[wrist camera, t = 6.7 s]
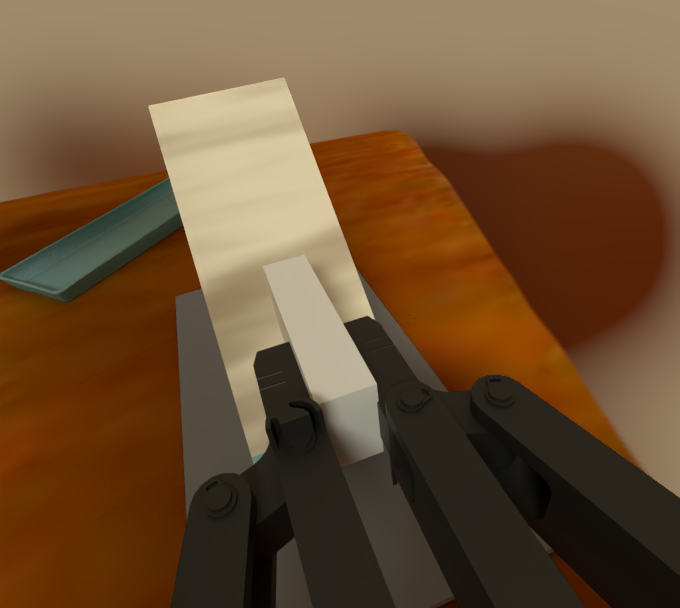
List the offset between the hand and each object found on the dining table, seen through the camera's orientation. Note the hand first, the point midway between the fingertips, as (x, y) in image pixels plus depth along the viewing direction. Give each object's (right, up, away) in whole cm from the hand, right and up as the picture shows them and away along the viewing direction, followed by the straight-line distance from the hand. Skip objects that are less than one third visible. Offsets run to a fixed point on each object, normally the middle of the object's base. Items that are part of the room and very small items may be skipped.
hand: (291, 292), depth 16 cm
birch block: (+1, -7, +3) cm, 7 cm away
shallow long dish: (-19, +7, +31) cm, 37 cm away
